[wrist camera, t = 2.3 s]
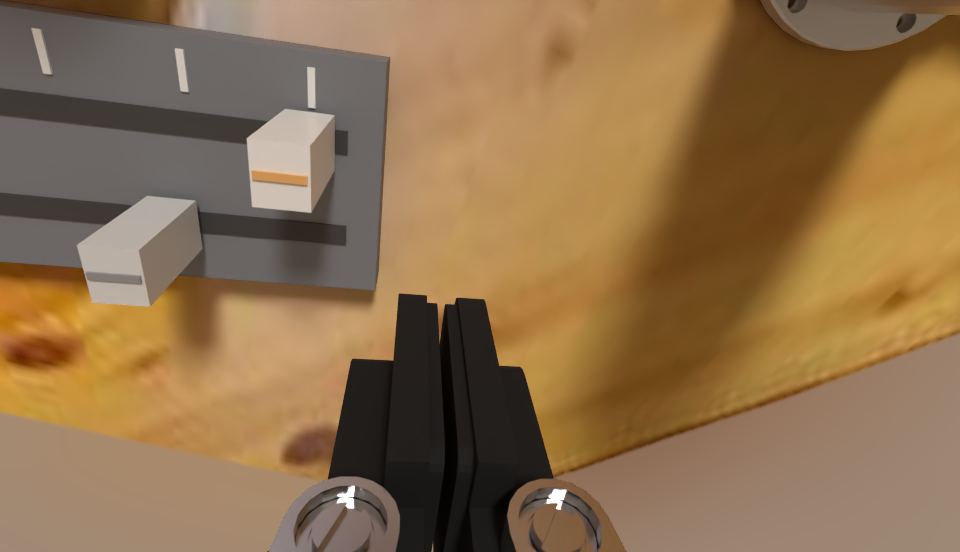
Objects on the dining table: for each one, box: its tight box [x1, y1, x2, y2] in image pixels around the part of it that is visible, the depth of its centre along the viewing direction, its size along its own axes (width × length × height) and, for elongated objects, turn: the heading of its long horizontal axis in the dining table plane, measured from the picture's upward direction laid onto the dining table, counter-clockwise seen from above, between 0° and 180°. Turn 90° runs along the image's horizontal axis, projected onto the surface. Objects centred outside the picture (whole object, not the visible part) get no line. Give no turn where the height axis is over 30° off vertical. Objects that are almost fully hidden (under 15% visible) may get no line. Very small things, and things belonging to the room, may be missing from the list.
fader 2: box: [247, 109, 335, 213], centre depth 19 cm, size 2×2×5 cm
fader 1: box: [77, 196, 202, 306], centre depth 20 cm, size 2×2×5 cm
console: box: [0, 0, 390, 290], centre depth 22 cm, size 26×11×2 cm, turn 82°
